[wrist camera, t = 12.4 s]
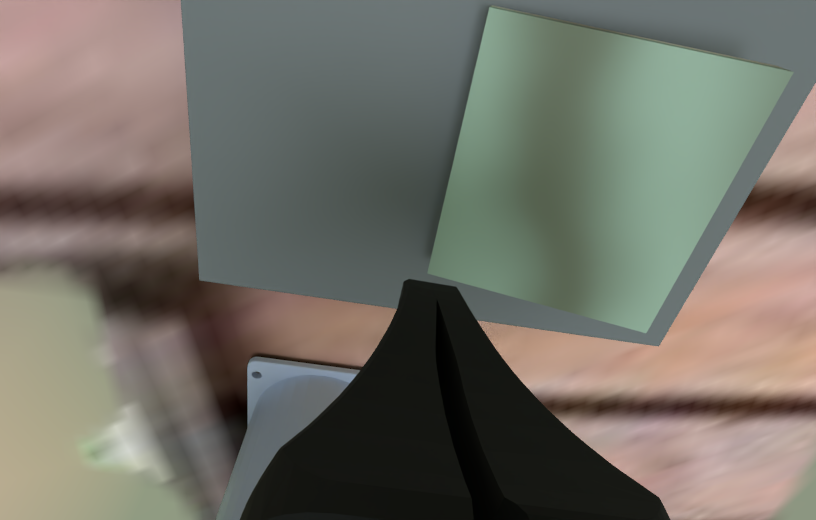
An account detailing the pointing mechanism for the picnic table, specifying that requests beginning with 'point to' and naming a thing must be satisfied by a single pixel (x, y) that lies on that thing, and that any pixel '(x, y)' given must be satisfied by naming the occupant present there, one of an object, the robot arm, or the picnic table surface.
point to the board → (407, 135)
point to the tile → (593, 163)
